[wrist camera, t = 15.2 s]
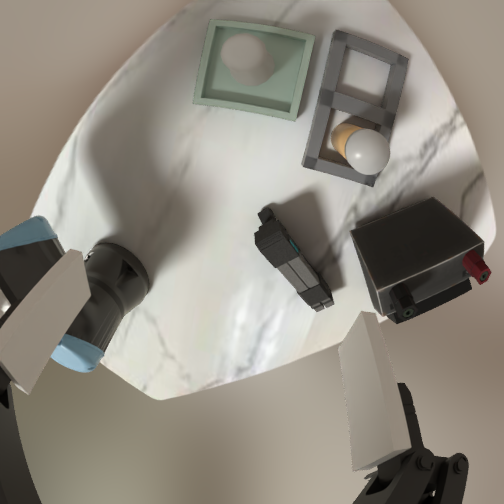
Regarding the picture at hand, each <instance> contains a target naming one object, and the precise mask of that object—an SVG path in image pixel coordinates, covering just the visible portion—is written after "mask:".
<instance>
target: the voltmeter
mask: <svg viewBox="0 0 504 504" xmlns="http://www.w3.org/2000/svg"><path fill="white" fill-rule="evenodd" d="M350 234H351V237H352V240H353V243H354V246H355V249H356V252H357V255H358V258H359V261H360V264H361V267H362V270H363V274H364V277H365V280H366V284H367V287H368V290H369V294H370V297H371V301H372V303H373V306H374V309H375V310H376V311H377V312H378V313H379V314H380V315H381V316H382V317H384V316H387V317H388V318H389V319H391V320H392V321H393V322H395V323H396V324H398V323H401V322H404V321H407V320H409V319H411V318H414V317H416V316H418V315H420V314H423V313H425V312H427V311H429V310H432V309H434V308H436V307H438V306H440V305H442V304H444V303H446V302H448V301H450V300H452V299H454V298H456V297H458V296H460V295H462V294H464V293H466V292H468V291H469V290H471V289H472V287H471V283H470V280H469V277H471V276H472V277H474V278H475V279H476V280H477V282H478V283H479V284H480V285H481V284H483V283H484V282H486V281H487V280H488V278H489V276H490V274H491V271H490V269H489V268H488V266H487V265H486V264H485V262H484V241H483V240H482V239H481V238H480V237H479V236H478V235H477V234H476V233H475V232H474V231H473V230H472V229H471V228H470V227H469V226H467V225H466V224H465V223H464V222H463V221H462V220H461V219H460V218H459V217H457V216H456V215H455V214H454V213H453V212H452V211H450V210H449V209H448V208H447V207H446V206H445V205H443V204H442V203H441V202H440V201H438V200H437V199H436V198H435V197H431V198H428V199H426V200H424V201H421V202H419V203H417V204H414V205H412V206H409V207H407V208H405V209H402V210H400V211H397V212H395V213H392V214H390V215H388V216H385V217H383V218H380V219H378V220H375V221H373V222H370V223H368V224H366V225H363V226H361V227H358V228H356V229H353V230H351V231H350Z"/></svg>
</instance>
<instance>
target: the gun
mask: <svg viewBox="0 0 504 504" xmlns="http://www.w3.org/2000/svg"><path fill="white" fill-rule="evenodd" d="M258 216H259V218H260V220H261V222H262V226H260V227H259V231H257V232H255V233H254V235H255V245H256V246H257V248H258V249H259V250H260V252H261V253H262V254H263V255H264V256H265V258H266V259H267V260H268V261H269V262H270V263H271V264H272V265H273V266H274V268H277V269H278V270H279V271H280V272H281V273H282V274H283V275H284V277H285V278H286V279H287V280H288V281H289V282H290V283H291V284H292V285H293V287H294V288H295V289H296V290H297V293H298V294H299V295H300V297H301V298H302V299H303V300H304V301H305V302H306V303H307V304H308V305H309V306H311V308H312V309H314V310H315V311H316V312H318V311H321V310H323V309H324V305H325V307H326V308H327V307H330V306H332V305H334V301H333V297H332V293H331V290H330V289H329V287H328V285H327V283H326V282H325V281H324V279H323V278H322V276H321V275H320V274H319V272H315V271H314V270H313V268H312V267H311V266H310V264H309V263H308V262H307V260H306V259H305V258H304V257H303V255H302V254H301V252H300V250H299V248H298V247H297V245H296V244H295V243H294V241H293V240H292V239H291V237H290V236H289V235H288V234H287V232H286V229H285V228H284V227H283V225H282V224H281V223H280V222H279V220H276V218H275V216H274V214H273V212H272V210H271V209H270V208H266V209H264V210H263V211H261V212H259V213H258ZM323 304H324V305H323Z"/></svg>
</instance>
